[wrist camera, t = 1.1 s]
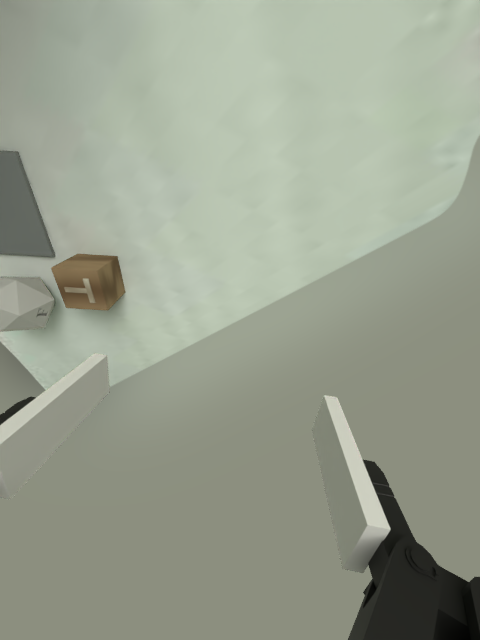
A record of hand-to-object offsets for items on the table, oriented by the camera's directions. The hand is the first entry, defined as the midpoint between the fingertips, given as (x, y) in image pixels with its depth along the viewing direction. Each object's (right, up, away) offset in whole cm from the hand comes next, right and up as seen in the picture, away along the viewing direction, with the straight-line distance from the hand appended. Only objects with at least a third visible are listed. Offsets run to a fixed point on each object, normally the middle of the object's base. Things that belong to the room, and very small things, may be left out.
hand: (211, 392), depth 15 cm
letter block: (-20, +12, +24) cm, 33 cm away
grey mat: (-33, +20, +19) cm, 43 cm away
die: (-32, +9, +26) cm, 42 cm away
